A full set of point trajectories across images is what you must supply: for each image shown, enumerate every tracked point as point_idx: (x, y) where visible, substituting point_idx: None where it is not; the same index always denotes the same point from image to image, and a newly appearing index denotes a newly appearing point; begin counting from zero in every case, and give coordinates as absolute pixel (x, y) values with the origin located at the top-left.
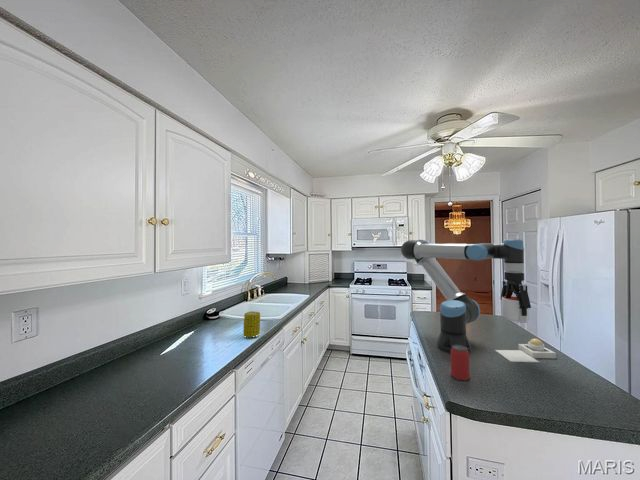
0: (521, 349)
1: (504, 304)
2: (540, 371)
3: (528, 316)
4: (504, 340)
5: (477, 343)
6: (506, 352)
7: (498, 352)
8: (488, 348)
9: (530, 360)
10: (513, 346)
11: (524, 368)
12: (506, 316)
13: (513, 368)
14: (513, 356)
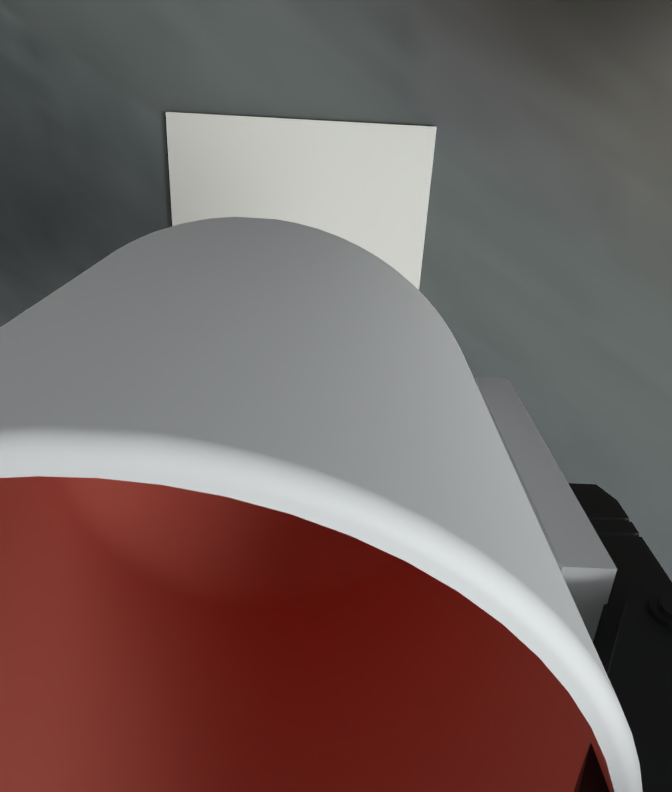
0: None
1: (131, 315)
2: (12, 253)
3: (117, 604)
4: (664, 397)
5: (660, 43)
6: (368, 210)
7: (371, 123)
8: (503, 91)
9: None
10: (516, 382)
11: (46, 154)
12: (162, 229)
13: (26, 40)
14: (274, 216)
